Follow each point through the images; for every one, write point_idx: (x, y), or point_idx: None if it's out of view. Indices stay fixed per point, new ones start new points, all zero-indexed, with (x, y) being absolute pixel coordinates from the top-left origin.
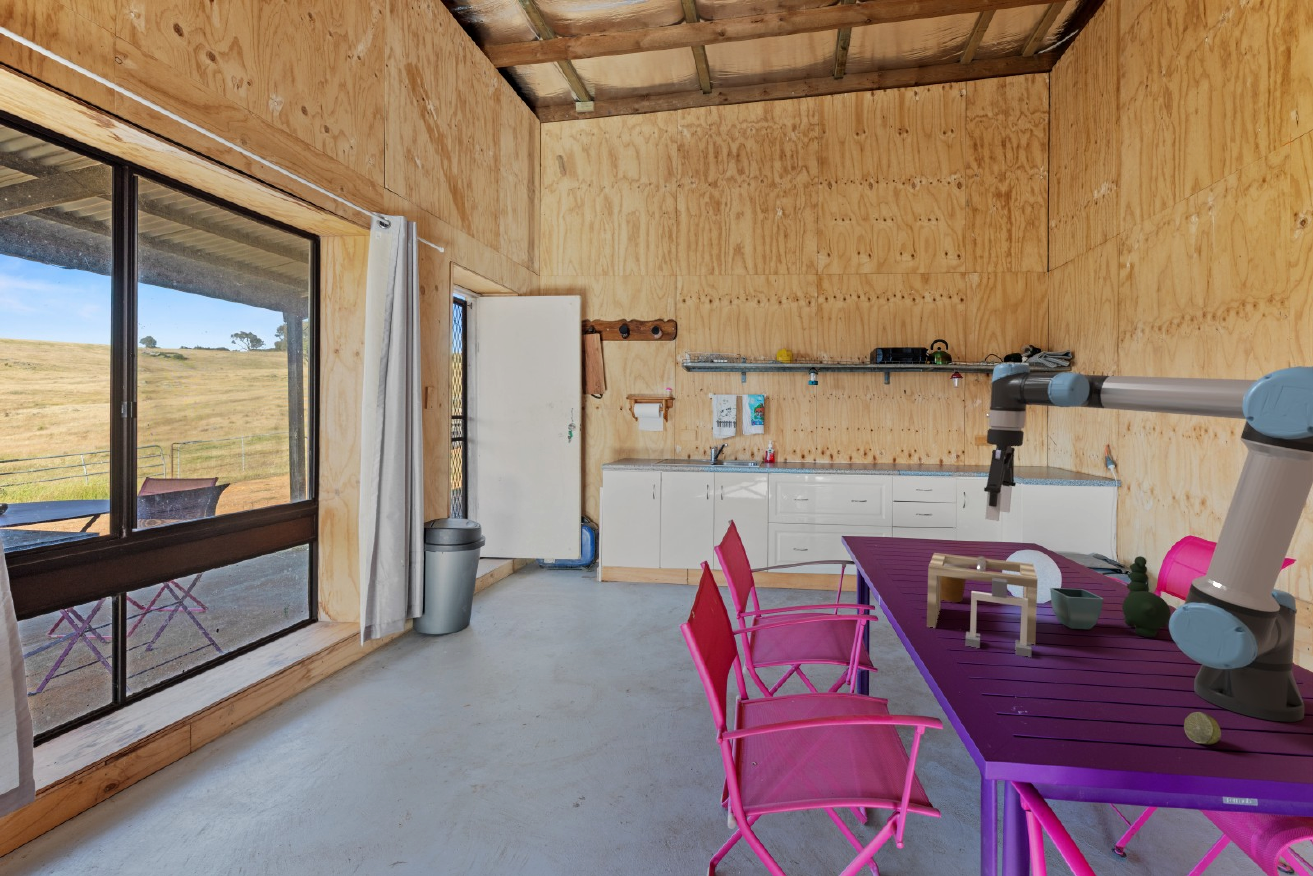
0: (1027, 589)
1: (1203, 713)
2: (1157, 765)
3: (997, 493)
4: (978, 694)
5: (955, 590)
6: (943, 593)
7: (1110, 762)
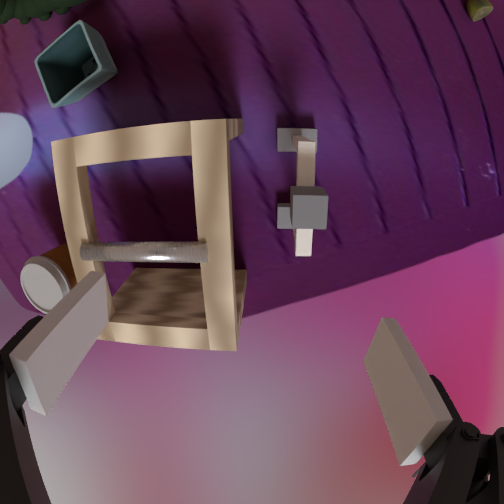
0: (230, 139)
1: (488, 5)
2: None
3: (447, 429)
4: (468, 209)
5: None
6: None
7: None
